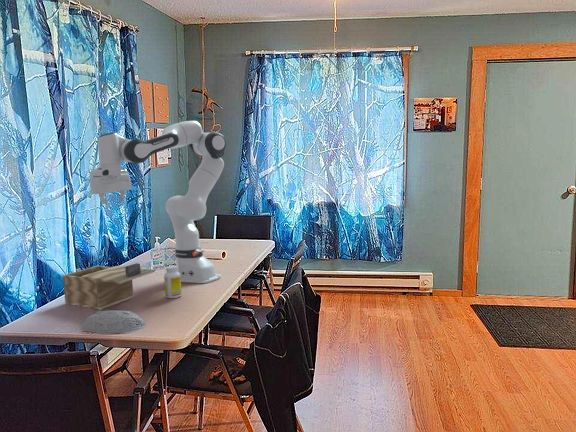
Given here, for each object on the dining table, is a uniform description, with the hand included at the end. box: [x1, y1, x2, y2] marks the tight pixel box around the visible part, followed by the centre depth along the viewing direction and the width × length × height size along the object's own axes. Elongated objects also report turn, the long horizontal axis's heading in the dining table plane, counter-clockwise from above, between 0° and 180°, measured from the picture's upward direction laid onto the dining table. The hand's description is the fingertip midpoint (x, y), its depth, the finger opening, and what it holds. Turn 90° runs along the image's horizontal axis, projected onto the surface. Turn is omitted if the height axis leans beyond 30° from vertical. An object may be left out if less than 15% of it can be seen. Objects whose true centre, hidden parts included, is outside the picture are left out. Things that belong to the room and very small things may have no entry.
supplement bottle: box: [163, 265, 183, 299], centre depth 224 cm, size 7×7×13 cm
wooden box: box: [62, 265, 134, 311], centre depth 221 cm, size 20×18×12 cm
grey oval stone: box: [81, 309, 147, 335], centre depth 191 cm, size 16×25×7 cm, turn 80°
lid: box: [81, 262, 156, 284], centre depth 215 cm, size 21×19×5 cm
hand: (113, 202), depth 232 cm, fingers open, 8 cm apart
